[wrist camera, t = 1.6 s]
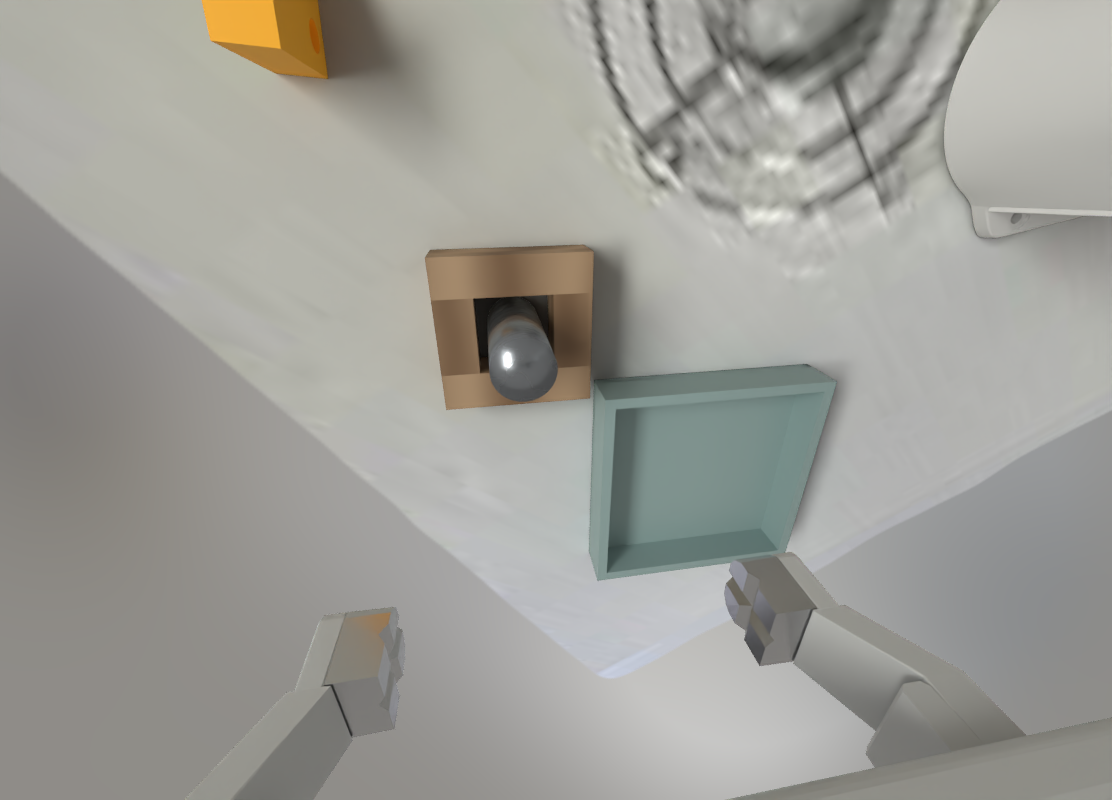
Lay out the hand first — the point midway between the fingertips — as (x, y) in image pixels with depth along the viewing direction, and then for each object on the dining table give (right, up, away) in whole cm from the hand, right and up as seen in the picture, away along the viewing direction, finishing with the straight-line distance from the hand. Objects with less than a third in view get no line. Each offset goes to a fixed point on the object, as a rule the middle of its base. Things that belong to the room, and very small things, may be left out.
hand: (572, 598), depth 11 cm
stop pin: (-3, +10, +21) cm, 23 cm away
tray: (+12, -1, +29) cm, 31 cm away
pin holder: (-3, +10, +21) cm, 23 cm away
